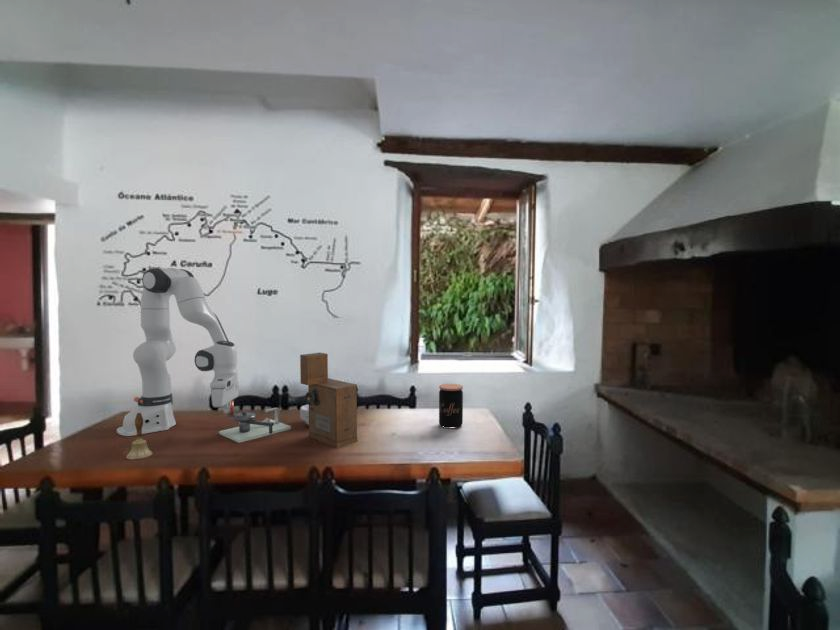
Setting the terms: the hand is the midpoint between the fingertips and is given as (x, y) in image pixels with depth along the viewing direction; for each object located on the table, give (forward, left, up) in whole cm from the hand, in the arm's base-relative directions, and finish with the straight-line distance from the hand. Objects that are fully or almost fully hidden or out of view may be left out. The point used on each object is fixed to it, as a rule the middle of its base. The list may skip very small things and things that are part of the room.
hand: (226, 412), depth 191 cm
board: (+10, -4, -10) cm, 15 cm away
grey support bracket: (+18, -4, -8) cm, 21 cm away
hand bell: (-33, +2, -10) cm, 34 cm away
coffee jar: (+74, -62, -10) cm, 97 cm away
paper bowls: (+35, -14, -10) cm, 40 cm away
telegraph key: (+7, -7, -8) cm, 13 cm away
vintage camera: (+25, -36, -10) cm, 46 cm away
